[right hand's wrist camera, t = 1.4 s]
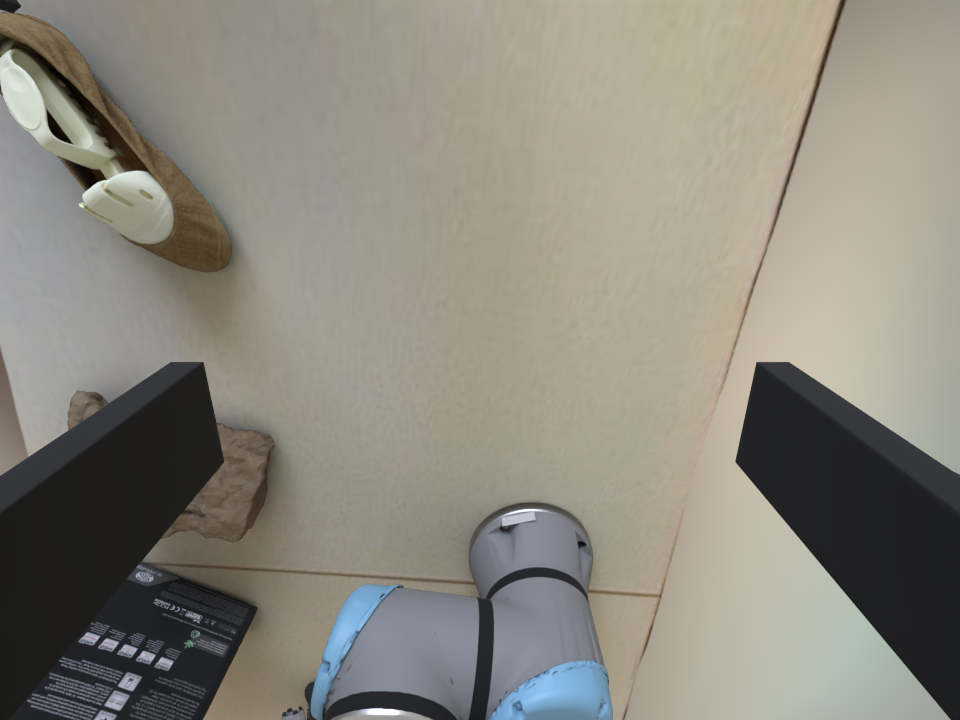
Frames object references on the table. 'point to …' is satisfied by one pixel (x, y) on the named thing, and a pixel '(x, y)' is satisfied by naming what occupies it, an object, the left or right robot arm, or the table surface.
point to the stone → (213, 478)
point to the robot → (297, 717)
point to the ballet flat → (105, 149)
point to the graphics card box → (145, 654)
